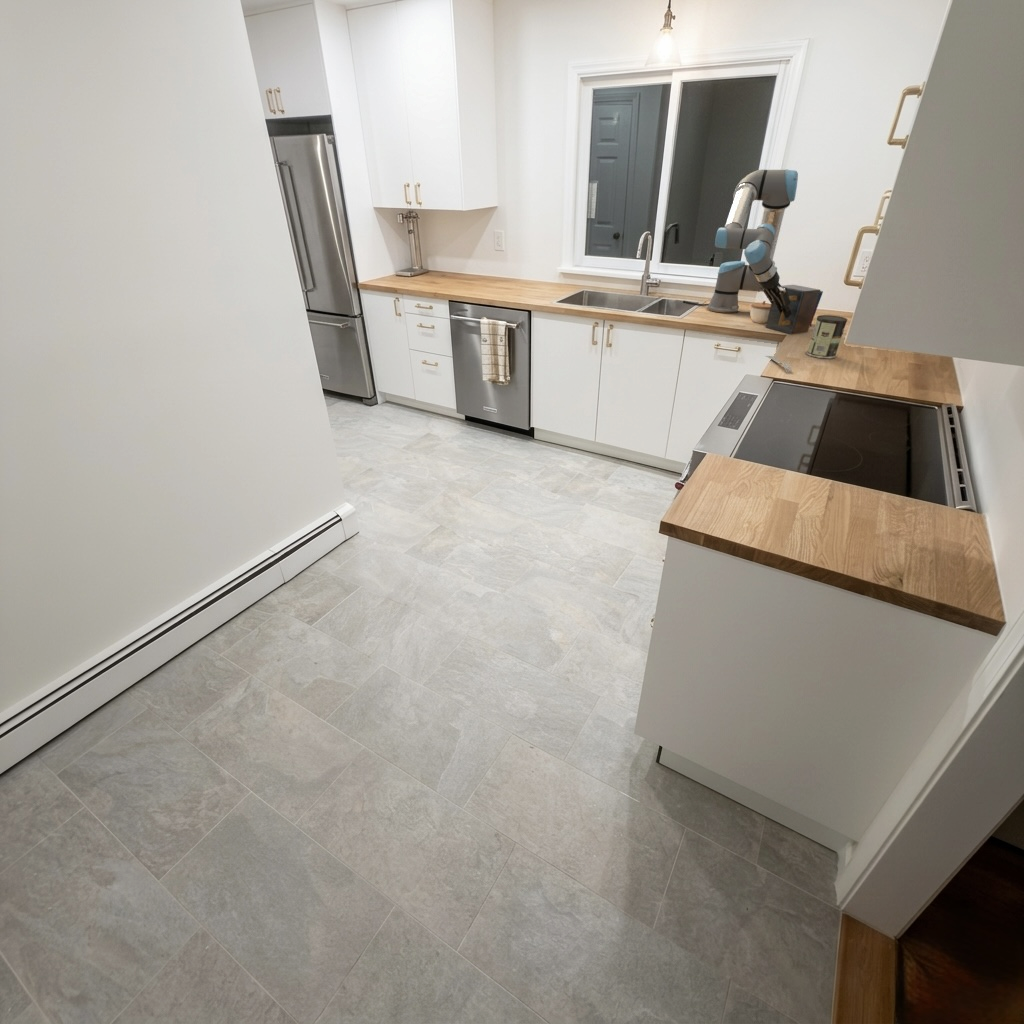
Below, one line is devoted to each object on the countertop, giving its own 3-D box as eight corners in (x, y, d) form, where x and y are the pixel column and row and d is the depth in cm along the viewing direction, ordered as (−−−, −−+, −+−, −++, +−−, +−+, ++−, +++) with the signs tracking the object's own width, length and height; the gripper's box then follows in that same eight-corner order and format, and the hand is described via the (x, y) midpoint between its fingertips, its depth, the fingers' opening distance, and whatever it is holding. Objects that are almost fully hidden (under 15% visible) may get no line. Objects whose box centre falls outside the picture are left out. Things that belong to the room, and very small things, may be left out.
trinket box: (773, 324, 253) (778, 303, 248) (749, 323, 255) (754, 302, 250) (768, 319, 262) (774, 299, 257) (745, 318, 264) (750, 298, 259)
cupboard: (792, 334, 238) (804, 291, 228) (767, 327, 249) (777, 285, 239) (807, 332, 242) (820, 289, 232) (782, 325, 252) (793, 284, 243)
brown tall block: (808, 326, 251) (819, 292, 243) (794, 324, 255) (804, 290, 247) (815, 324, 254) (825, 291, 246) (801, 322, 259) (811, 289, 251)
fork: (770, 362, 208) (771, 355, 207) (793, 373, 189) (795, 365, 188) (762, 362, 208) (764, 355, 207) (785, 373, 189) (787, 365, 188)
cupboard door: (781, 335, 235) (793, 292, 226) (756, 328, 246) (766, 287, 236) (792, 333, 238) (804, 291, 228) (766, 327, 248) (777, 286, 239)
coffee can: (830, 352, 213) (842, 315, 206) (838, 359, 205) (851, 321, 197) (803, 350, 215) (814, 314, 208) (809, 357, 206) (821, 319, 199)
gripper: (787, 271, 214) (806, 311, 228) (760, 265, 225) (780, 305, 239) (773, 285, 215) (793, 325, 229) (747, 280, 226) (768, 318, 240)
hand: (786, 315), depth 234 cm, fingers closed on cupboard door, 2 cm apart
